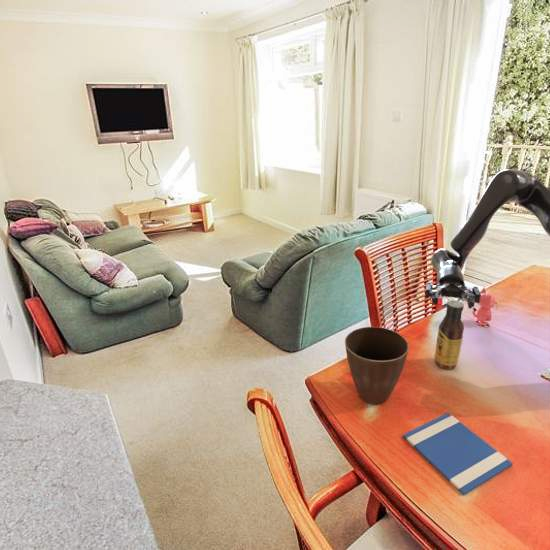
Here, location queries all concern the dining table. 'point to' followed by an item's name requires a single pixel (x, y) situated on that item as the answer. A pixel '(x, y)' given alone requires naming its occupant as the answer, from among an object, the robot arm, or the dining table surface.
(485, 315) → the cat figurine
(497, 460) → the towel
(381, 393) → the flower pot
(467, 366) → the dining table surface
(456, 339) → the sauce bottle
